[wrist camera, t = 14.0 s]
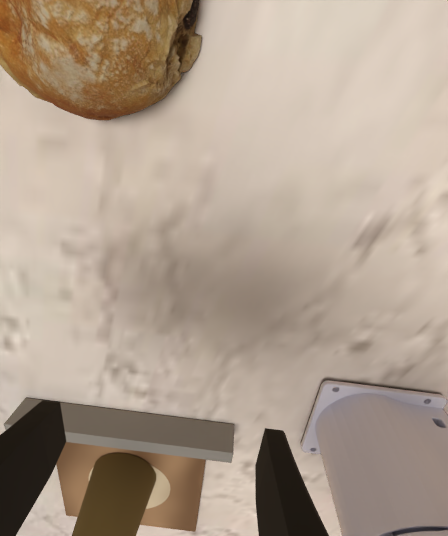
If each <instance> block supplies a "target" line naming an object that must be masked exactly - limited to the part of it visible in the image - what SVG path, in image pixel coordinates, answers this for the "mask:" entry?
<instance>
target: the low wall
mask: <svg viewBox="0 0 448 536" xmlns="http://www.w3.org/2000/svg"><path fill="white" fill-rule="evenodd" d="M41 401H42V400H39V399H31V398H25V399H24V401H23V402H22V403H21V404H20V405H19V407H18V408H17V409H16V410H15V411H14V413H13V414H12V415H11V416H10V417H9V419H8V420H7V421H6V422H5V423H4V426H5V429H6V430H7V429H8V428H10V427H11V426H12V425H13V424H14V423H16V422H17V421H18V420H19V419H20V418H22V417H23V416H24V415H25V414H26V413H28V412H29V411H30V410H31V409H32V408H34V407H35V406H36V405H37V404H38V403H40V402H41ZM46 401H47V400H46ZM53 402H55V401H53ZM60 405H61V411H62V417H63V423H64V430H65V436H66V442H71V443H79V444H87V445H95V446H102V447H110V448H118V449H126V450H134V451H142V452H150V453H158V454H165V455H173V456H181V457H189V458H197V459H205V460H213V461H221V462H229V463H231V462H232V457H233V446H234V424H228V423H220V422H212V421H204V420H196V419H188V418H180V417H173V416H165V415H157V414H149V413H141V412H133V411H125V410H117V409H110V408H102V407H94V406H86V405H78V404H70V403H62V402H60Z"/></svg>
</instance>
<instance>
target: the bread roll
mask: <svg viewBox="0 0 448 536" xmlns="http://www.w3.org/2000/svg"><path fill="white" fill-rule="evenodd" d="M198 6H199V0H0V65H1V66H2V67H3V68H4V70H5V71H6V72H7V73H8V74H9V75H10V76H11V77H12V78H13V79H14V80H15V81H16V82H17V83H18V84H19V85H20V86H23V87H25V88H26V89H27V90H28V91H29V92H30V93H31V94H32V95H33V96H35V97H36V98H39V99H42V100H45V101H47V102H50V103H53V104H54V105H55V106H57V107H59V108H61V109H63V110H65V111H68V112H70V113H73V114H76V115H79V116H81V117H84V118H87V119H95V120H111V119H114V118H117V117H120V116H123V115H128V114H132V113H135V112H138V111H140V110H142V109H144V108H146V107H148V106H150V105H152V104H155V103H156V102H158V101H160V100H161V99H163V98H164V97H166V95H167V94H168V92H169V91H170V90H171V88H172V87H173V86H174V85H175V84H176V83H177V82H178V81H179V80H180V79H181V75H180V73H181V72H187V71H189V70H190V69H191V67H192V65H193V63H194V61H195V60H196V58H197V56H198V53H199V51H200V45H201V36H202V35H198V34H195V32H194V31H195V26H196V22H197V14H198Z"/></svg>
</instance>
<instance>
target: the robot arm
mask: <svg viewBox="0 0 448 536" xmlns="http://www.w3.org/2000/svg"><path fill="white" fill-rule="evenodd" d="M334 387H336V388H334ZM446 403H447V400H446V398H445V397H444V396H443V395H440V394H432V393H424V392H417V391H409V390H401V389H393V388H385V387H377V386H370V385H362V384H354V383H346V382H338V381H330V380H327V381H324V382H323V383H322V384H321V387H320V390H319V393H318V396H317V399H316V402H315V405H314V408H313V411H312V413H311V416H310V419H309V422H308V425H307V428H306V431H305V434H304V437H303V440H302V443H301V449H302V451H304V452H307V453H315V454H321V455H322V459H323V463H324V467H325V471H326V475H327V478H328V482H329V486H330V490H331V494H332V498H333V501H334V505H335V509H336V513H337V517H338V521H339V525H340V528H341V532H342V536H448V415H447V414H446V412H445V411H444V410H443V409H444V407H445V405H446ZM65 443H66V436H65V430H64V423H63V417H62V411H61V405H60V402H53V401H46V400H42V401H41V402H40V403H38V404H37V405H36V406H35V407H34V408H32V409H31V410H30V411H29V412H28V413H26V414H25V415H24V416H23V417H22V418H20V419H19V420H18V421H17V422H16V423H14V424H13V425H12V426H11V427H10V428H8V429H7V430H6V431H5V432H3V433H2V434H1V435H0V536H16V534H17V532H18V531H19V529H20V527H21V526H22V524H23V522H24V520H25V519H26V517H27V515H28V514H29V512H30V510H31V509H32V507H33V505H34V503H35V502H36V500H37V498H38V497H39V495H40V493H41V491H42V490H43V488H44V486H45V484H46V483H47V481H48V479H49V477H50V476H51V474H52V472H53V470H54V467H55V465H56V463H57V461H58V459H59V457H60V455H61V452H62V450H63V448H64V446H65ZM256 509H257V520H258V531H259V536H329V535H328V533H327V531H326V529H325V527H324V525H323V523H322V521H321V519H320V516H319V514H318V512H317V510H316V508H315V506H314V504H313V501H312V499H311V497H310V495H309V493H308V491H307V488H306V486H305V484H304V481H303V479H302V477H301V474H300V472H299V470H298V467H297V465H296V462H295V460H294V457H293V455H292V452H291V449H290V447H289V444H288V441H287V438H286V435H285V433H284V432H283V431H282V430H274V429H266V428H265V431H264V435H263V439H262V443H261V446H260V450H259V454H258V458H257V462H256Z"/></svg>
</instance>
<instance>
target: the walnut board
mask: <svg viewBox="0 0 448 536" xmlns="http://www.w3.org/2000/svg"><path fill="white" fill-rule="evenodd" d="M113 453H123V454H130V455H133V456H136V457H139V458H141V459H142V460H144V461H146V462H147V463H148V464H150V465H151V466H152V467H153V469H154V471H155V473H156V482H155V485H154V488H153V490H152V493H151V496H150V499H149V501H148V504H147V507H146V509H145V512H144V515H143V517H142V520H141V523H140V525H147V526H155V527H163V528H170V529H178V530H186V531H194V532H195V530H196V523H197V516H198V509H199V502H200V495H201V488H202V481H203V474H204V467H205V459H197V458H189V457H181V456H173V455H165V454H158V453H150V452H142V451H134V450H126V449H118V448H110V447H102V446H95V445H87V444H79V443H71V442H66V443H65V446H64V448H63V450H62V452H61V455H60V457H59V459H58V461H57V463H56V464H57V469H58V474H59V480H60V485H61V490H62V495H63V501H64V506H65V511H66V515H68V516H76V517H78V515H79V512H80V508H81V505H82V502H83V499H84V496H85V493H86V489H87V486H88V483H89V480H90V477H91V474H92V470H93V467H94V465H95V462H96V461H97V460H98V459H99V458H100V457H102V456H105V455H107V454H113Z"/></svg>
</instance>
